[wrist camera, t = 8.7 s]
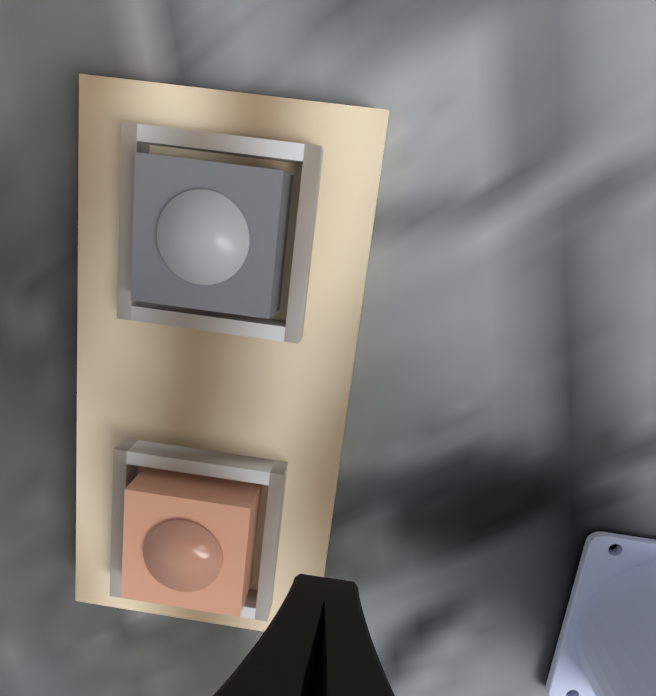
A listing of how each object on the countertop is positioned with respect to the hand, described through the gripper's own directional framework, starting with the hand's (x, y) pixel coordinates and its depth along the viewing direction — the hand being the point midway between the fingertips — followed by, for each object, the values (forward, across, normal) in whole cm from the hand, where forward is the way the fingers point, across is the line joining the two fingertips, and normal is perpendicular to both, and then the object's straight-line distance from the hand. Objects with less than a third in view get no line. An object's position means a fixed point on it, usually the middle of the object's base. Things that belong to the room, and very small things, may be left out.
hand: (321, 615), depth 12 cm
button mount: (+9, +5, -2) cm, 11 cm away
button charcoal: (+8, +5, -8) cm, 12 cm away
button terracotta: (+8, +5, +4) cm, 10 cm away
